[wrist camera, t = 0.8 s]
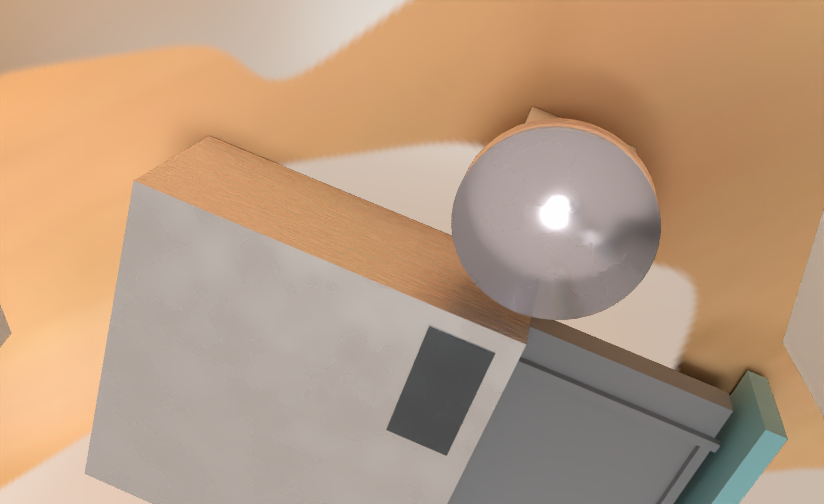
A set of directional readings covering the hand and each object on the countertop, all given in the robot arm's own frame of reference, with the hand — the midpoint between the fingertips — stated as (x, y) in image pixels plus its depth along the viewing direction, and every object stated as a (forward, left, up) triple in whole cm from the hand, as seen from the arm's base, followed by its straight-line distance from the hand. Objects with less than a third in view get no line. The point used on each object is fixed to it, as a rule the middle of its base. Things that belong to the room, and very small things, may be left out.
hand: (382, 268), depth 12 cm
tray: (-9, +19, -24) cm, 32 cm away
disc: (-4, +5, -19) cm, 20 cm away
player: (+4, +19, -24) cm, 31 cm away
